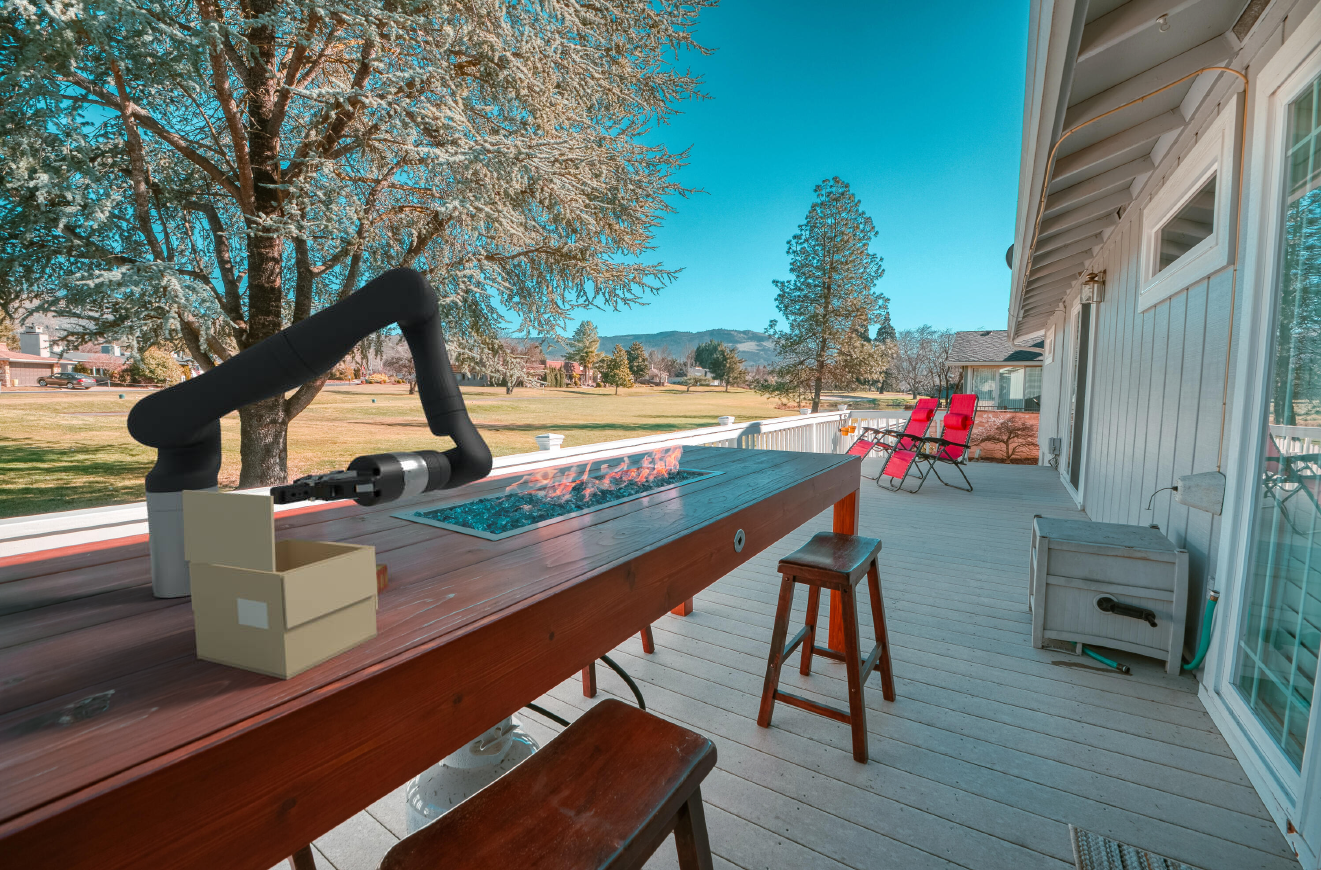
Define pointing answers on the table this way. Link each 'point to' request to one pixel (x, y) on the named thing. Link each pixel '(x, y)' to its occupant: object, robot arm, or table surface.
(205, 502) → the near flap
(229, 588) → the kraft box
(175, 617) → the table surface
